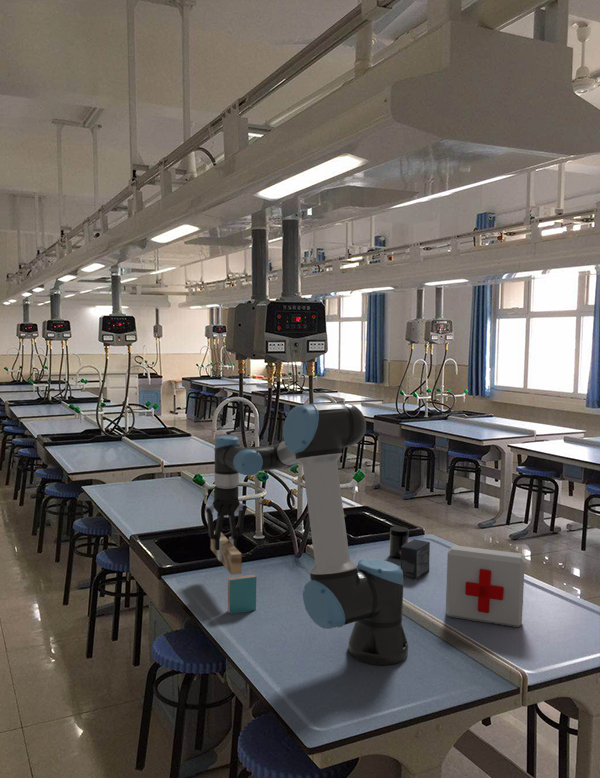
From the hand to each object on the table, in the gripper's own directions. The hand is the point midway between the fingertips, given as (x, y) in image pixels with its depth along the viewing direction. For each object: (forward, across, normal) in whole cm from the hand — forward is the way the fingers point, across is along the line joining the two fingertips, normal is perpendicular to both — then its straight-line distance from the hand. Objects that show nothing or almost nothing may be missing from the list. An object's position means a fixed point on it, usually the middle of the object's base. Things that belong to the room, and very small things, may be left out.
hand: (225, 558), depth 207 cm
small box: (+10, -65, +8) cm, 66 cm away
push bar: (+1, 0, 0) cm, 1 cm away
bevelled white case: (+10, -63, +47) cm, 79 cm away
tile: (+5, 0, +17) cm, 18 cm away
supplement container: (+10, -69, -9) cm, 70 cm away
